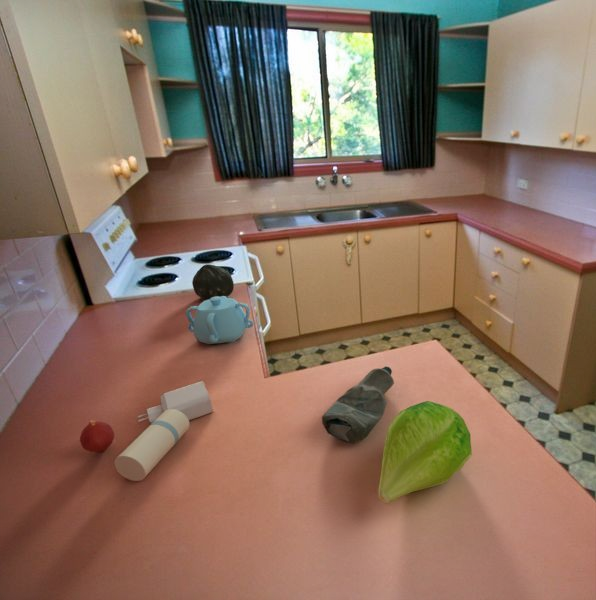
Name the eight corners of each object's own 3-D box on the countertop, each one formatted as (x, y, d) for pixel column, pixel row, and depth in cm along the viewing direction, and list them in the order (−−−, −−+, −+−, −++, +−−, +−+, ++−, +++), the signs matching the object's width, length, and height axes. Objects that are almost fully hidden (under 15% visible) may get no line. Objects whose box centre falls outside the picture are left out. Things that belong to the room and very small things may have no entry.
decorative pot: (208, 355, 126) (198, 314, 121) (187, 337, 136) (177, 298, 131) (258, 336, 137) (252, 297, 131) (235, 320, 147) (228, 284, 141)
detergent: (364, 454, 87) (414, 386, 107) (359, 425, 84) (411, 362, 105) (313, 439, 93) (369, 378, 113) (306, 413, 90) (365, 355, 111)
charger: (139, 417, 100) (206, 394, 108) (142, 439, 93) (214, 413, 101) (133, 400, 98) (202, 378, 106) (136, 422, 91) (210, 397, 99)
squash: (230, 273, 176) (200, 253, 165) (246, 283, 166) (216, 262, 155) (209, 301, 174) (177, 282, 163) (224, 313, 164) (191, 294, 153)
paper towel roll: (118, 478, 83) (165, 429, 96) (148, 483, 82) (192, 433, 95) (110, 453, 80) (159, 406, 93) (141, 458, 79) (187, 410, 92)
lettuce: (430, 550, 70) (366, 510, 80) (494, 450, 84) (432, 426, 94) (406, 494, 63) (339, 457, 73) (480, 395, 77) (415, 375, 87)
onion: (84, 450, 90) (71, 420, 87) (114, 437, 94) (103, 407, 91) (89, 465, 87) (76, 434, 83) (121, 450, 90) (110, 420, 87)
